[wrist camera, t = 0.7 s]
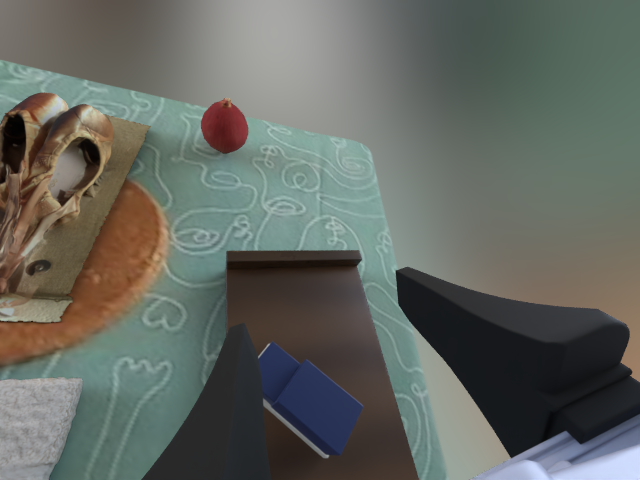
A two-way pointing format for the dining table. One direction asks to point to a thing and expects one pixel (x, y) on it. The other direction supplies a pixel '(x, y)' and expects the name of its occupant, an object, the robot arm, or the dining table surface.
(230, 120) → the onion
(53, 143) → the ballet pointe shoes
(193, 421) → the robot arm
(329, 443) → the trainer
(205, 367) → the dining table surface
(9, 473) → the washcloth
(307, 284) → the shoe shelf
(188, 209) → the dining table surface
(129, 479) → the dining table surface
